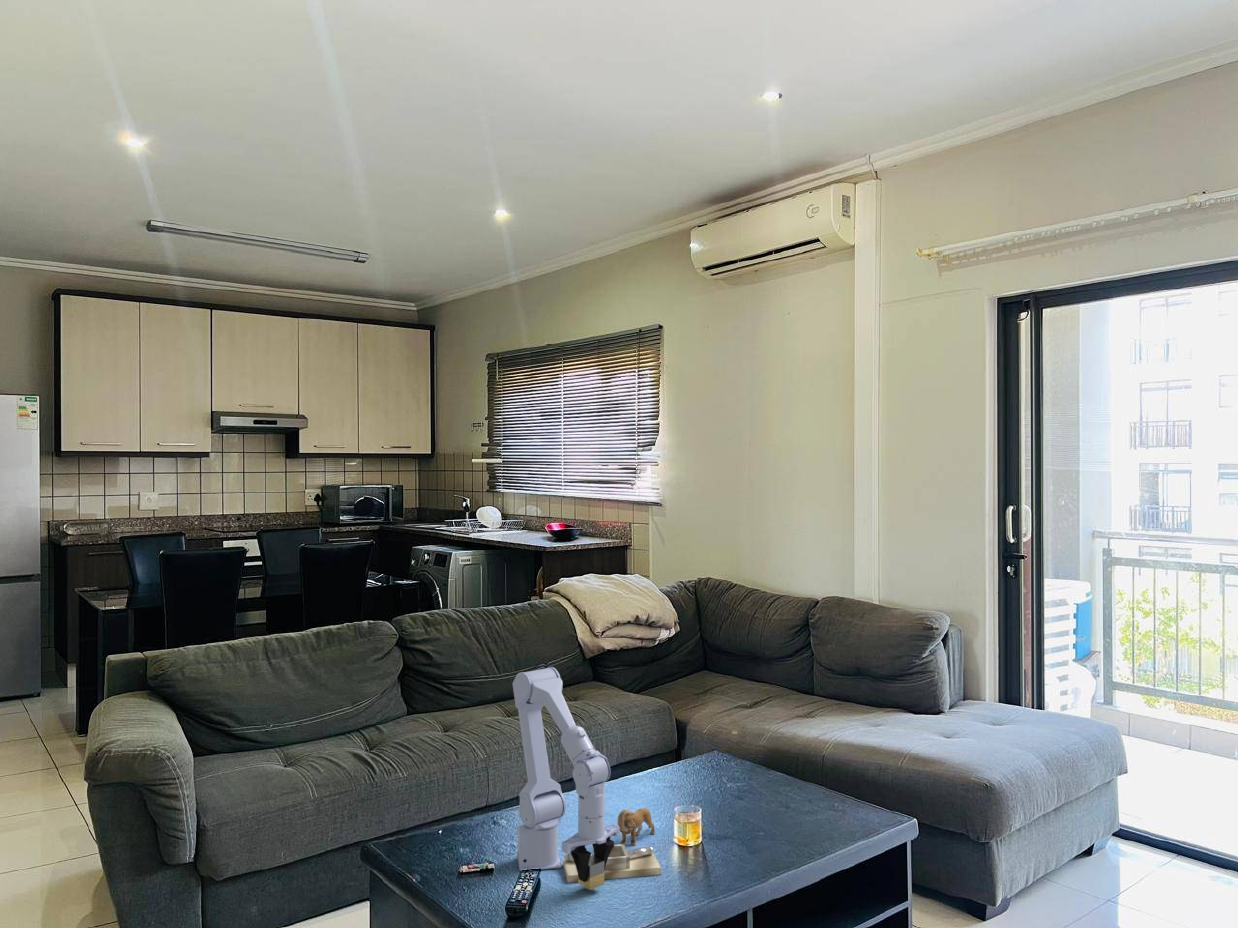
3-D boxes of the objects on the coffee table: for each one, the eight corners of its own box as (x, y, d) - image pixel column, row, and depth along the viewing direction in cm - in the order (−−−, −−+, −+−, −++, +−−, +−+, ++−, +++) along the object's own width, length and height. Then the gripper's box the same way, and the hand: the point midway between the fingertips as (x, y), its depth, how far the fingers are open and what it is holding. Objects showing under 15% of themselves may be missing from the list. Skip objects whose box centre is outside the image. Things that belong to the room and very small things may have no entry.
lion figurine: (631, 853, 207) (631, 815, 208) (612, 848, 210) (612, 810, 210) (659, 830, 220) (659, 795, 220) (640, 826, 223) (640, 791, 223)
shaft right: (628, 860, 200) (628, 852, 200) (625, 857, 201) (625, 849, 201) (655, 855, 203) (655, 847, 203) (651, 852, 204) (651, 844, 204)
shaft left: (594, 860, 200) (594, 852, 200) (593, 863, 198) (593, 855, 198) (564, 859, 201) (564, 851, 201) (563, 862, 199) (563, 854, 199)
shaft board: (568, 882, 193) (568, 864, 193) (562, 864, 201) (562, 846, 201) (661, 874, 196) (661, 856, 196) (652, 856, 205) (652, 839, 205)
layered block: (589, 889, 186) (589, 866, 186) (578, 883, 189) (578, 859, 189) (604, 884, 189) (604, 860, 189) (592, 877, 192) (592, 854, 192)
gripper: (576, 828, 181) (576, 894, 181) (628, 810, 191) (628, 873, 191) (555, 817, 187) (555, 881, 187) (608, 801, 196) (607, 862, 196)
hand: (591, 876), depth 189 cm, fingers closed on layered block, 4 cm apart
